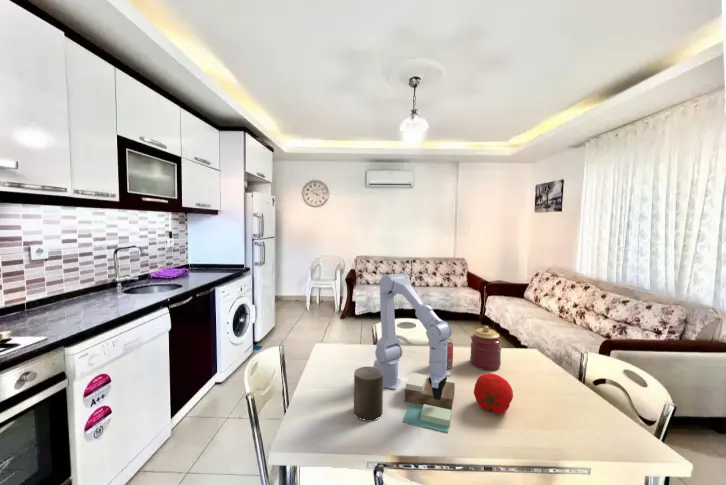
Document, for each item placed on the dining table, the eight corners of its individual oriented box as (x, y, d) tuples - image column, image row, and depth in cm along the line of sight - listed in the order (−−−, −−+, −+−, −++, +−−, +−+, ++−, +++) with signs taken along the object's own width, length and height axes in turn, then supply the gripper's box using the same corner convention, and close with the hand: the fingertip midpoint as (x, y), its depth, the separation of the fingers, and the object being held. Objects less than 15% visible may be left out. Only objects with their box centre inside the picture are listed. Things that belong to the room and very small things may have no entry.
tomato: (490, 405, 114) (482, 425, 103) (471, 372, 117) (461, 388, 106) (523, 396, 108) (518, 416, 97) (502, 361, 111) (495, 377, 100)
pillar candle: (378, 424, 98) (379, 377, 97) (349, 418, 101) (350, 372, 100) (385, 407, 107) (386, 364, 107) (358, 402, 110) (359, 360, 110)
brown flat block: (405, 401, 111) (405, 390, 111) (412, 385, 122) (412, 375, 122) (451, 411, 105) (451, 399, 105) (454, 393, 116) (454, 383, 116)
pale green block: (423, 404, 105) (423, 409, 105) (420, 414, 100) (420, 420, 100) (451, 409, 102) (451, 415, 102) (449, 420, 96) (449, 426, 96)
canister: (471, 369, 137) (472, 329, 136) (468, 357, 149) (469, 320, 148) (503, 372, 134) (504, 332, 133) (497, 359, 146) (498, 322, 145)
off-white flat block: (422, 392, 110) (422, 386, 109) (405, 388, 112) (405, 383, 112) (426, 380, 118) (426, 375, 118) (411, 377, 120) (411, 372, 120)
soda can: (439, 361, 144) (440, 336, 143) (454, 365, 140) (455, 339, 139) (433, 367, 138) (434, 340, 138) (449, 371, 134) (449, 344, 134)
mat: (402, 422, 99) (402, 421, 99) (409, 403, 109) (409, 403, 109) (447, 433, 94) (448, 432, 94) (451, 412, 104) (451, 411, 104)
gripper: (448, 370, 95) (447, 413, 96) (452, 352, 109) (451, 390, 110) (425, 366, 98) (424, 408, 99) (432, 349, 111) (431, 386, 112)
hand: (437, 398), depth 104 cm, fingers closed
